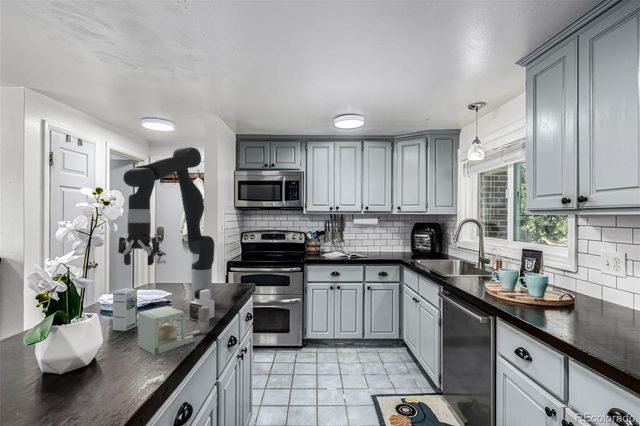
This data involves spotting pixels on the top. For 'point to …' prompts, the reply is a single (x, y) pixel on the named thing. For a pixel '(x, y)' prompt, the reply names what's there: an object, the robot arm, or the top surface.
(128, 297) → the syrup box
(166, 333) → the towed block
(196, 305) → the medicine bottle
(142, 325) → the green windowed box
